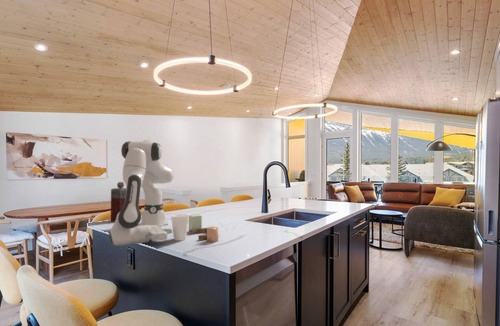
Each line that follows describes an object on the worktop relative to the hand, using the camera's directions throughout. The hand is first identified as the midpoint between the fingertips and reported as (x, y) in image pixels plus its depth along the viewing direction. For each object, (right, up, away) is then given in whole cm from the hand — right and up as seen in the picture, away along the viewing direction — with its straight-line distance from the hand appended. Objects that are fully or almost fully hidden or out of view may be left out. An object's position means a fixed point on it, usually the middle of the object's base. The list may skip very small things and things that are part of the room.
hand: (171, 230), depth 150 cm
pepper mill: (-53, -5, +53) cm, 75 cm away
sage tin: (+9, -5, +19) cm, 22 cm away
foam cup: (+4, -5, +2) cm, 7 cm away
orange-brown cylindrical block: (+22, -5, -1) cm, 23 cm away
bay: (+16, -5, +9) cm, 19 cm away
